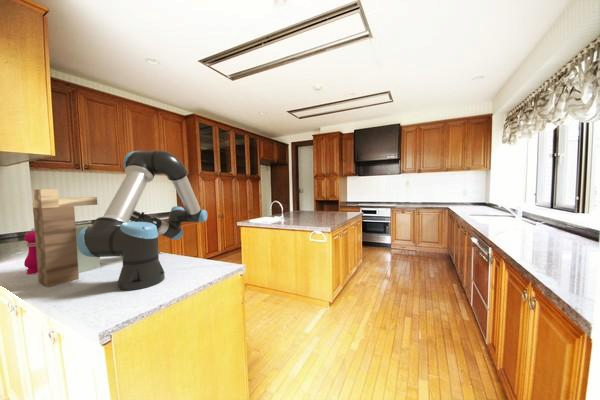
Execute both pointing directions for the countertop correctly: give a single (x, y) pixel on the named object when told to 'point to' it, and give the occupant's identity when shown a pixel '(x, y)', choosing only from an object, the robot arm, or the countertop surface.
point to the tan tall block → (59, 199)
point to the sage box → (85, 261)
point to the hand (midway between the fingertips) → (117, 209)
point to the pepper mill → (31, 253)
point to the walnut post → (56, 245)
